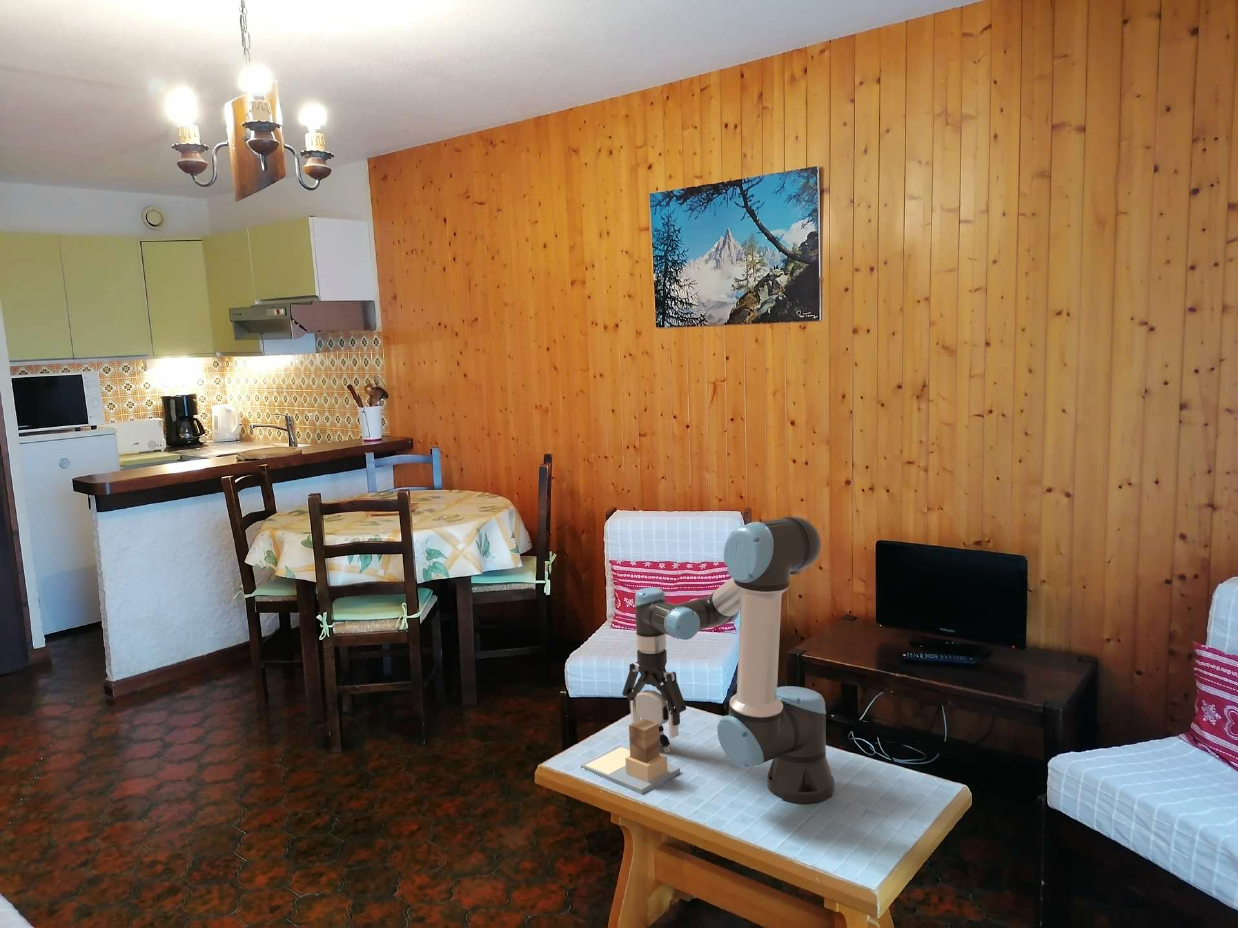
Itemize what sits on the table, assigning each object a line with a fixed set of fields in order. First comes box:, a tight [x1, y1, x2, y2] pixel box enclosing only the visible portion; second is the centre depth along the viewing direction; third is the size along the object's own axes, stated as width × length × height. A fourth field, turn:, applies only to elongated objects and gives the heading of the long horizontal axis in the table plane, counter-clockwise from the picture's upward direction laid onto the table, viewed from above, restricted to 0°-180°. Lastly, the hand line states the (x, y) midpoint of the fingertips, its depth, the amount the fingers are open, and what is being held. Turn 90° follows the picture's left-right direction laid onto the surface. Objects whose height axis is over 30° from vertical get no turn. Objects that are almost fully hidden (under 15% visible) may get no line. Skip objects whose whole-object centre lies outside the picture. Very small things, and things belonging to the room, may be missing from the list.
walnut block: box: [628, 718, 661, 763], centre depth 209 cm, size 5×5×8 cm
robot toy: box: [632, 689, 671, 753], centre depth 225 cm, size 12×4×15 cm, turn 44°
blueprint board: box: [580, 745, 681, 795], centre depth 213 cm, size 20×14×5 cm
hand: (654, 729), depth 226 cm, fingers closed on robot toy, 12 cm apart
